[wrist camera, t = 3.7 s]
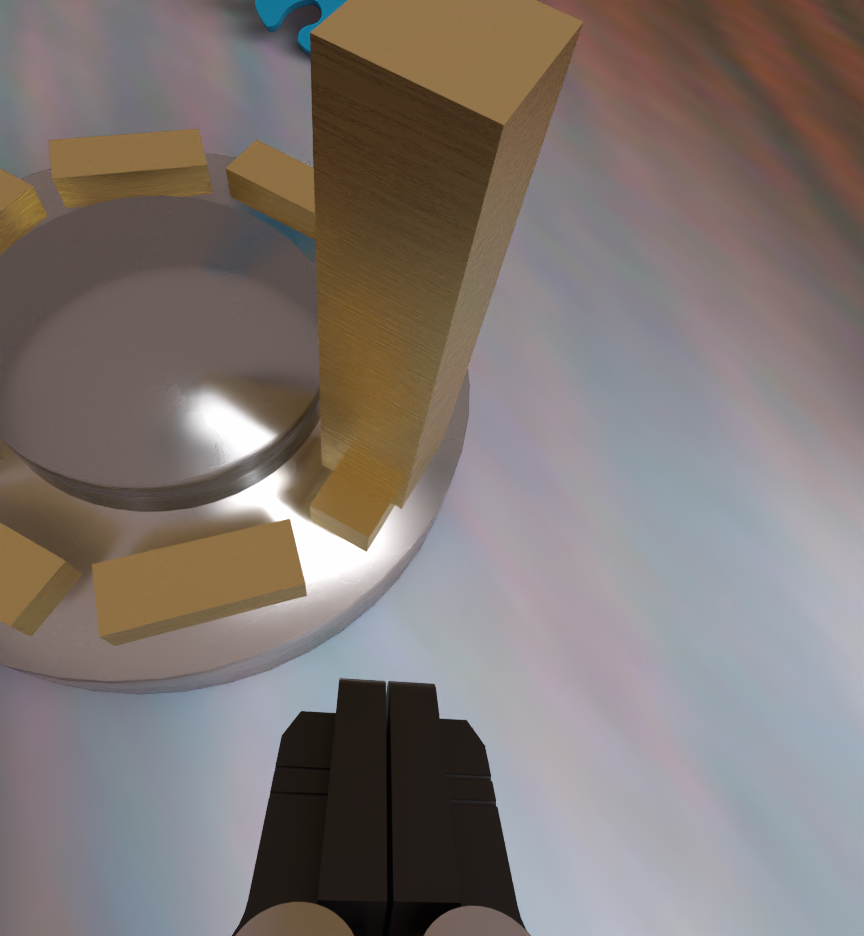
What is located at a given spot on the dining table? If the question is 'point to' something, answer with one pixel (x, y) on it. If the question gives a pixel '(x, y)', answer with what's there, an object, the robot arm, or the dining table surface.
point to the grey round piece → (177, 427)
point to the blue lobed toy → (278, 3)
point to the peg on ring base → (338, 275)
